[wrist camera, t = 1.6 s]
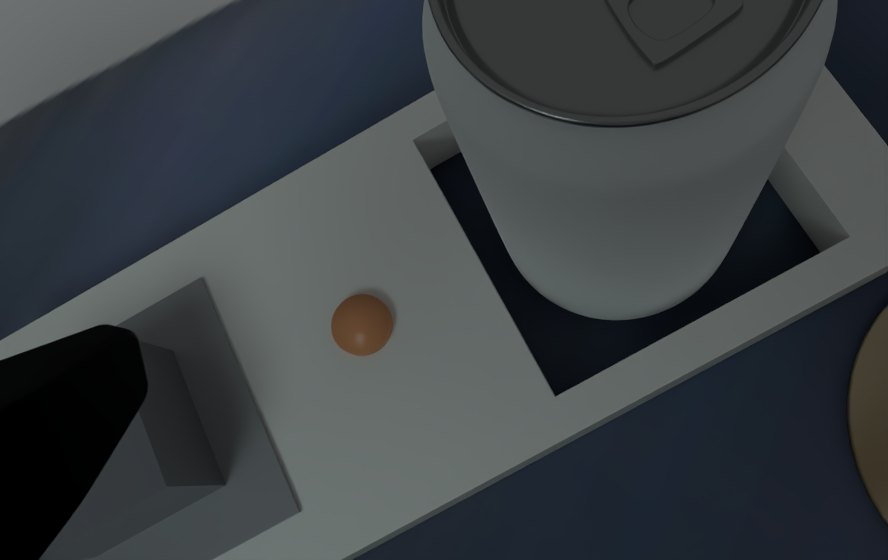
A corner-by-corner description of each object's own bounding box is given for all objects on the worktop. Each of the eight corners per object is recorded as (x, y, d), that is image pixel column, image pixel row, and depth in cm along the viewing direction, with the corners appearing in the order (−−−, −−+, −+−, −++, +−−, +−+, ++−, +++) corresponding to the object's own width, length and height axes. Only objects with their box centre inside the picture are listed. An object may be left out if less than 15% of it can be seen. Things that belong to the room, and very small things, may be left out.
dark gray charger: (228, 485, 20) (166, 486, 18) (98, 556, 21) (17, 569, 18) (175, 351, 22) (109, 332, 19) (53, 420, 22) (-30, 411, 19)
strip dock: (918, 254, 20) (958, 226, 18) (136, 675, 22) (79, 699, 20) (706, -24, 23) (717, -79, 21) (32, 363, 25) (-27, 351, 23)
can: (641, 66, 23) (671, -329, 12) (785, 236, 21) (990, -42, 10) (460, 190, 23) (317, -80, 12) (586, 370, 21) (559, 251, 10)
